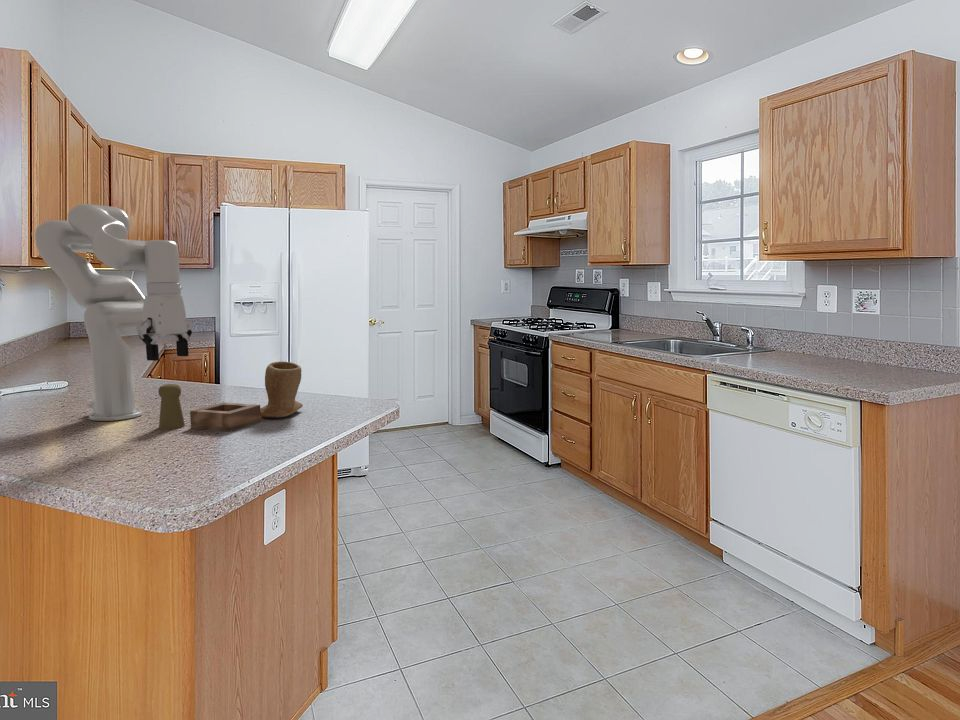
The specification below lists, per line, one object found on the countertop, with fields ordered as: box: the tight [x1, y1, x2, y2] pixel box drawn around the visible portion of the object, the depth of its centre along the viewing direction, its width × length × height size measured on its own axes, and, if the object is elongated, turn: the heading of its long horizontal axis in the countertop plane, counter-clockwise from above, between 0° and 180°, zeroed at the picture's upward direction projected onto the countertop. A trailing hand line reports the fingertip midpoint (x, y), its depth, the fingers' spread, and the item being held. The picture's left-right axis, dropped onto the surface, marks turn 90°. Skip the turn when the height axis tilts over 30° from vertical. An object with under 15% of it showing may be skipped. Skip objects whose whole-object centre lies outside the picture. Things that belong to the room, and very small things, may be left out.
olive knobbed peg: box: [158, 383, 186, 430], centre depth 158 cm, size 6×6×11 cm
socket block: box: [189, 401, 262, 433], centre depth 160 cm, size 12×12×4 cm
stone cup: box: [260, 360, 303, 418], centre depth 172 cm, size 15×12×15 cm
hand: (168, 358), depth 156 cm, fingers open, 9 cm apart
